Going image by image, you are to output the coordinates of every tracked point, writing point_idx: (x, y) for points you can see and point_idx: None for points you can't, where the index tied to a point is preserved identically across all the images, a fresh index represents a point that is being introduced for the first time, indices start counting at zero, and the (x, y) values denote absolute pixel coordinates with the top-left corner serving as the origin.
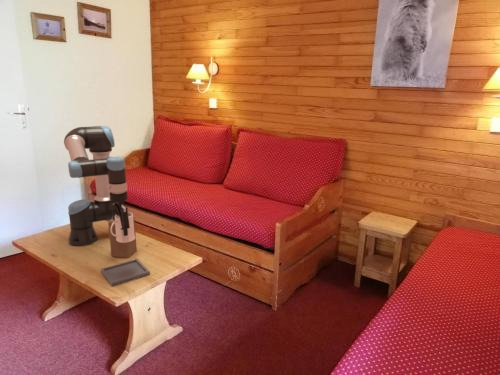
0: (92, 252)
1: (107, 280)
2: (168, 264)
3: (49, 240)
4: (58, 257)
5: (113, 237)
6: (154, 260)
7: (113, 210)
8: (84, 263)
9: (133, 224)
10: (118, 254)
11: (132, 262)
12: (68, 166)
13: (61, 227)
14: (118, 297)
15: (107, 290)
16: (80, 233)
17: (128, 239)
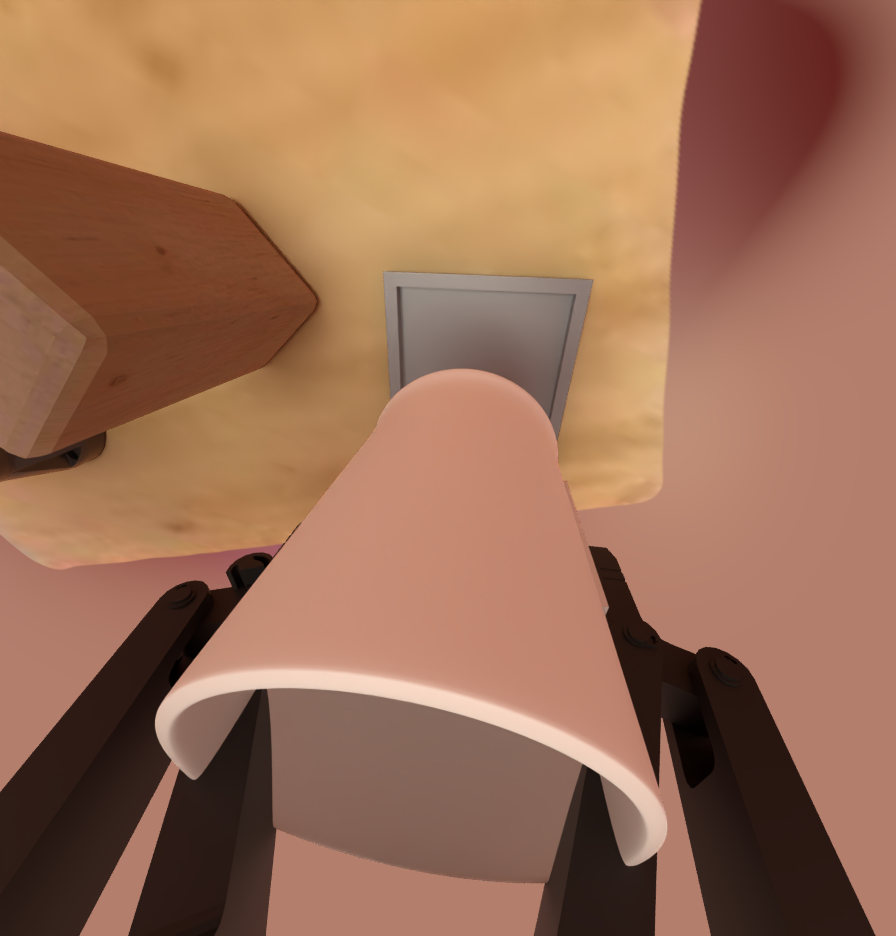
0: (187, 419)
1: None
2: (562, 59)
3: (35, 501)
4: (201, 523)
5: (186, 388)
6: (432, 144)
7: (105, 885)
8: (287, 478)
9: (535, 488)
10: (279, 344)
11: (400, 310)
12: None
13: None
14: (645, 486)
15: None
16: None
17: (568, 493)
